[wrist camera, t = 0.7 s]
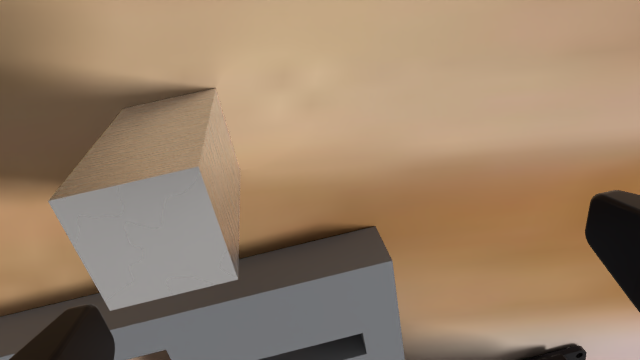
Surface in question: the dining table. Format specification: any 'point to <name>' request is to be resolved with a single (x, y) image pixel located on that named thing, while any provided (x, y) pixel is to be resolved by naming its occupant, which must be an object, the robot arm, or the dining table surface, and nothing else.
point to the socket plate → (258, 310)
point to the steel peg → (156, 202)
